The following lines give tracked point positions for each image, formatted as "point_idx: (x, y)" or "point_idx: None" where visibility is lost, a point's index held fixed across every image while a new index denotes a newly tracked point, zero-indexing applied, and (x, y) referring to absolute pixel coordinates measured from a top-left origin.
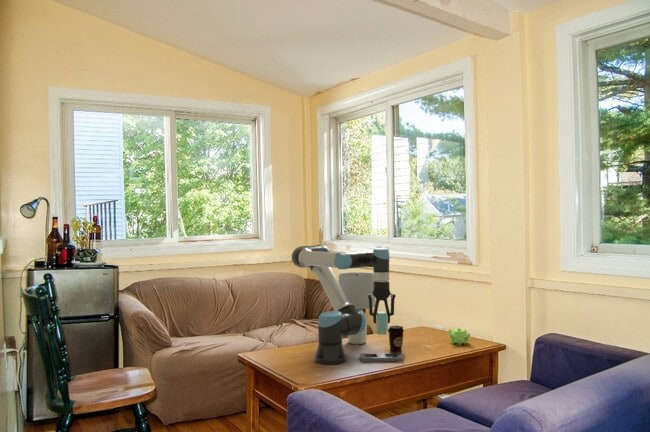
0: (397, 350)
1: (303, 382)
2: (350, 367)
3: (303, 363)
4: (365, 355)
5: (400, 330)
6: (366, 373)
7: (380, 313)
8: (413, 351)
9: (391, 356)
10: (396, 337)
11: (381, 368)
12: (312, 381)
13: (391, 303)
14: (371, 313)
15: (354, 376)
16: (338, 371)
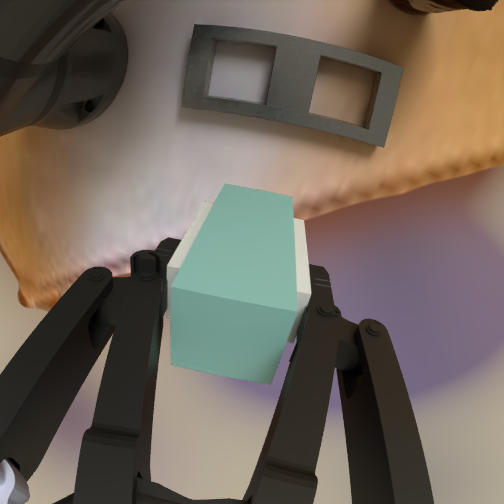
0: (413, 9)
1: (24, 271)
2: (129, 167)
3: None
4: (220, 39)
5: (479, 3)
6: None
7: (199, 370)
8: (479, 25)
9: (355, 65)
10: (435, 1)
11: None
12: (38, 271)
13: (359, 473)
14: (102, 330)
15: None
16: (88, 205)
